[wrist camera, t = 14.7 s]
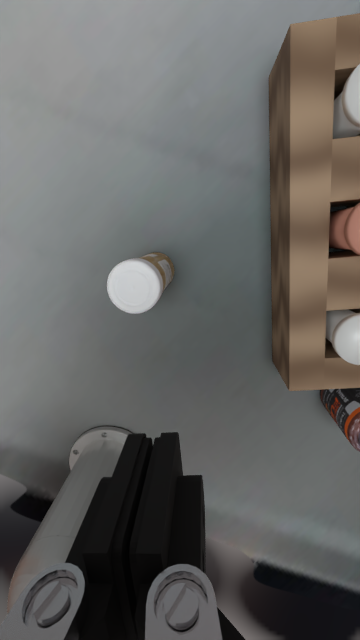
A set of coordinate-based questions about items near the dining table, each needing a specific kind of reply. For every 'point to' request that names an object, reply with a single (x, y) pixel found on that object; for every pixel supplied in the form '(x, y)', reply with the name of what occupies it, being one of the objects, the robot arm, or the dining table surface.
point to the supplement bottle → (344, 411)
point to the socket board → (311, 201)
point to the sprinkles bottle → (139, 282)
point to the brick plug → (345, 229)
